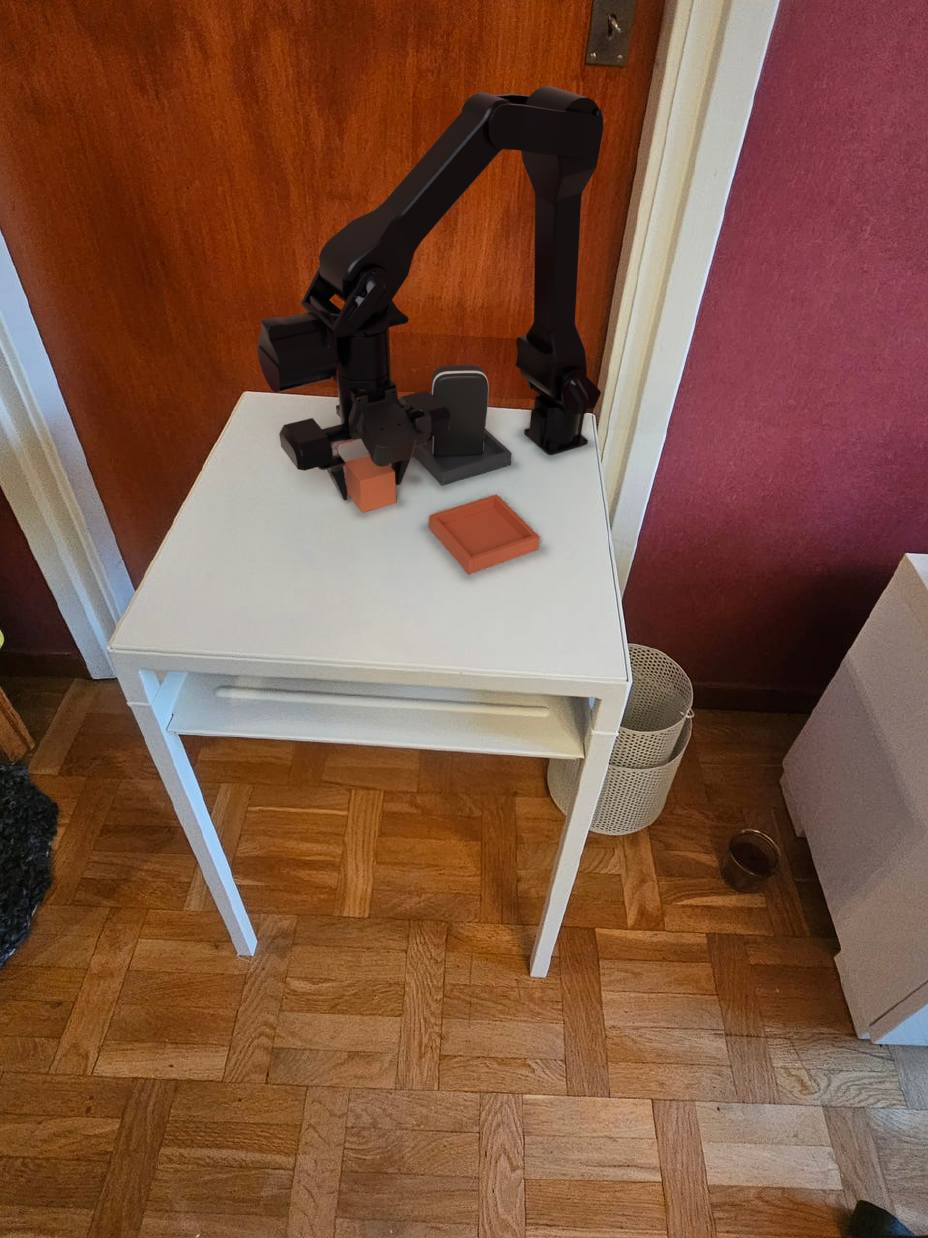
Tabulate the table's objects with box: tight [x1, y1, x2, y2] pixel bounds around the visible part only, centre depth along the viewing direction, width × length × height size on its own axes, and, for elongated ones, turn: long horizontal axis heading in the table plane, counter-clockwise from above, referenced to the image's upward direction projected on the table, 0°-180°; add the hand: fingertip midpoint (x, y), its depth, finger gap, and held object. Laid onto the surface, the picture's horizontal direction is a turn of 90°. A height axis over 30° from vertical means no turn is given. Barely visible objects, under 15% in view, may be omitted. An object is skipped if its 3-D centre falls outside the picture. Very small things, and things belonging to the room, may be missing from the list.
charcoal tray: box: [413, 428, 513, 486], centre depth 97 cm, size 10×11×2 cm
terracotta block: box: [344, 455, 397, 514], centre depth 89 cm, size 4×4×4 cm
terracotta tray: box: [428, 493, 541, 575], centre depth 85 cm, size 9×9×2 cm
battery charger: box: [430, 364, 489, 456], centre depth 94 cm, size 7×4×11 cm, turn 98°
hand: (370, 490), depth 90 cm, fingers open, 7 cm apart
